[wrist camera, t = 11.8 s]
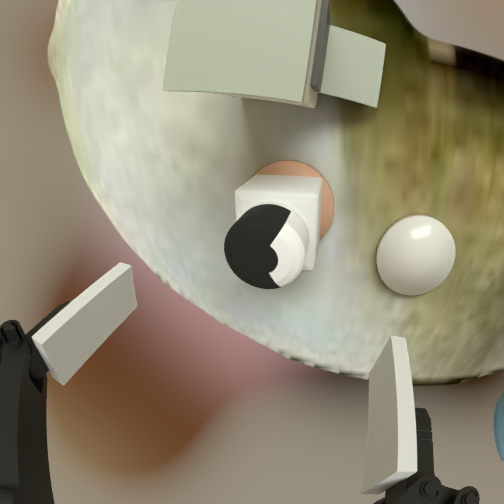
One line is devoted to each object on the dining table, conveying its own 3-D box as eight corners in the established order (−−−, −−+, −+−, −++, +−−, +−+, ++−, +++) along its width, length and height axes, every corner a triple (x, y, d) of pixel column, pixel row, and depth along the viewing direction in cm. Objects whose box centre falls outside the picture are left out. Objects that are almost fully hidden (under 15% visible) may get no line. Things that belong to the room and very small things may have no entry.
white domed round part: (463, 227, 26) (467, 231, 25) (432, 297, 31) (435, 302, 30) (390, 203, 28) (392, 206, 27) (365, 280, 33) (365, 285, 32)
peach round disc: (343, 171, 28) (343, 173, 27) (322, 254, 33) (322, 258, 32) (252, 152, 30) (248, 153, 29) (241, 234, 35) (238, 238, 34)
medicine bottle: (256, 235, 33) (217, 293, 23) (255, 173, 30) (209, 207, 20) (319, 240, 31) (307, 305, 21) (322, 176, 28) (314, 213, 18)
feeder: (384, 35, 20) (419, -26, 7) (371, 123, 25) (405, 128, 12) (251, 15, 23) (187, -44, 10) (239, 99, 28) (162, 90, 15)
